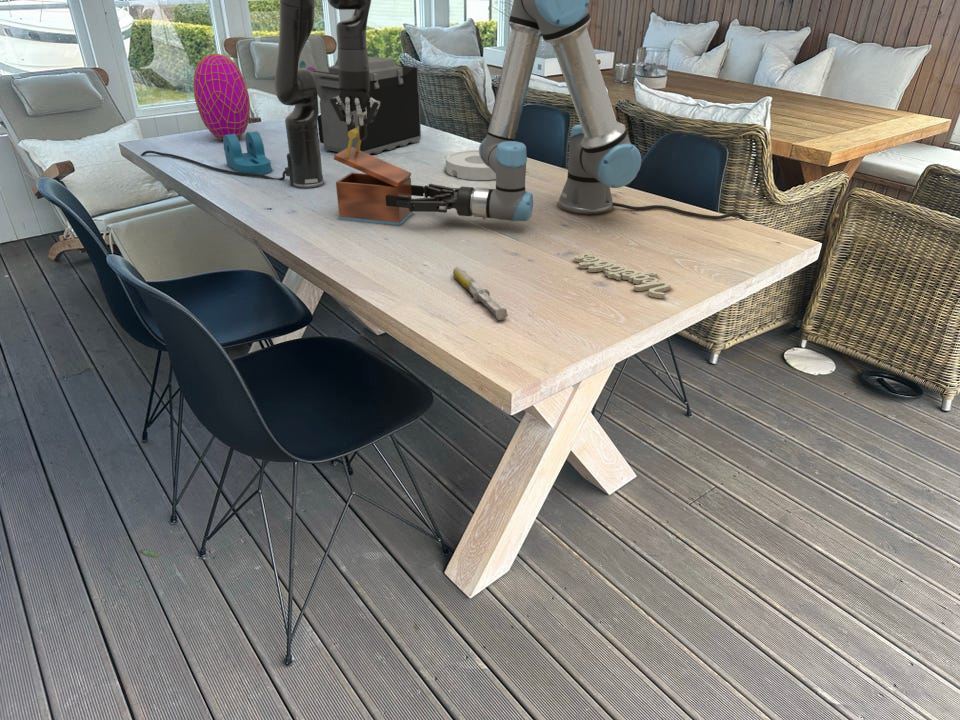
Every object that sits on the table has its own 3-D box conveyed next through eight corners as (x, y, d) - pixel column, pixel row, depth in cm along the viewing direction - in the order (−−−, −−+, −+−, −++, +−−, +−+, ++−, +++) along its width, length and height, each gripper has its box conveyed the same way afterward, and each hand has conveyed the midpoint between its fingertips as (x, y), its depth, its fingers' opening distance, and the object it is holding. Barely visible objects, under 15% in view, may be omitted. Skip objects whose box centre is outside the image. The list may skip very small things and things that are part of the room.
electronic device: (383, 133, 276) (378, 52, 261) (425, 141, 265) (422, 56, 250) (314, 150, 251) (304, 61, 235) (358, 160, 240) (350, 67, 224)
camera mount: (227, 164, 233) (221, 132, 227) (257, 160, 238) (252, 129, 233) (244, 176, 220) (239, 143, 215) (276, 172, 225) (271, 139, 220)
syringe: (449, 274, 155) (449, 263, 153) (465, 272, 156) (464, 260, 154) (490, 323, 135) (491, 310, 133) (508, 319, 136) (508, 307, 134)
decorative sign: (686, 282, 150) (660, 295, 144) (686, 286, 150) (659, 300, 144) (592, 249, 166) (565, 259, 160) (592, 253, 167) (565, 263, 161)
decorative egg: (219, 147, 253) (203, 59, 238) (193, 139, 264) (176, 54, 249) (265, 139, 265) (252, 54, 250) (238, 131, 276) (225, 50, 261)
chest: (339, 219, 187) (335, 182, 182) (354, 208, 195) (351, 172, 190) (399, 225, 183) (397, 187, 178) (412, 213, 191) (410, 177, 186)
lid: (333, 159, 178) (340, 127, 174) (349, 150, 187) (356, 119, 182) (397, 187, 178) (405, 156, 173) (410, 177, 186) (418, 147, 181)
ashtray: (448, 160, 240) (448, 149, 238) (514, 162, 240) (514, 150, 238) (443, 179, 220) (443, 166, 218) (515, 180, 220) (515, 168, 218)
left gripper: (385, 67, 172) (388, 138, 181) (334, 63, 175) (339, 133, 184) (373, 72, 166) (377, 145, 175) (321, 67, 169) (327, 139, 178)
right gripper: (461, 230, 172) (378, 221, 177) (484, 203, 191) (408, 196, 196) (461, 200, 168) (376, 192, 173) (484, 176, 187) (407, 170, 192)
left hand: (357, 138), depth 179 cm, fingers closed on lid, 2 cm apart
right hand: (393, 194), depth 184 cm, fingers closed on chest, 10 cm apart
